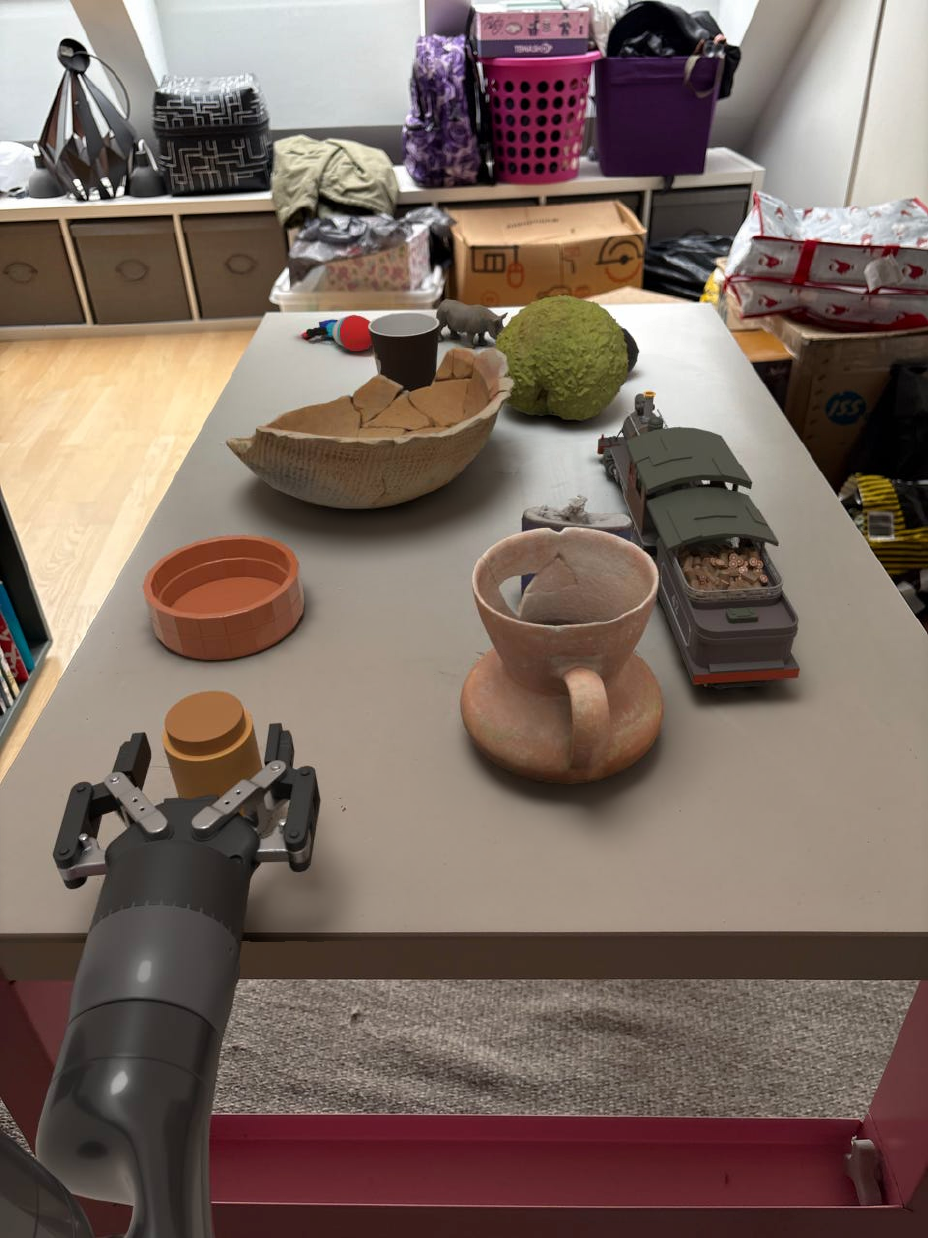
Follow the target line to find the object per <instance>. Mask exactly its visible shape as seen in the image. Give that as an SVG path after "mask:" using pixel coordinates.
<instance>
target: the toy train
mask: <svg viewBox="0 0 928 1238" xmlns="http://www.w3.org/2000/svg"><path fill="white" fill-rule="evenodd" d="M656 394H657V393H656V392H655V391H651V390H646V391H644V392H643V393H637V394H636V395H635V396H634V411H633V412H631V413H630V411H629V410H626V413H627V414H628V415H627V417H625V419H624V420H623V423H622V427H621V429H620V430H619V432H618V434H617V435H612V436H608V437H605V433H601V437H600V438H598V439H597V454H598V455H599V456H600V455H603V456H602V464H603V467H604V470H605V472H606V474H607V475H608V476H609V477H612V478H613V477H614V478H615V482H616V483H620V486H621V489H622V491H623V495H622V497H623V499H624V501H625V503H626V507H627V509H628V511H629V514H630V516H631V520H632V523H633V527H632V533H633V534H634V536H635V540H636V541H637V543H638V547H640V548H641V549H642V550H643V551H644V552H646V553H647V554H648V555H649V556H650V557H651V558H652V560H653V562H654V563H655V565H656V567H657V570H658V574H659V586H658V591H657V595H658V597H659V600H660V602H661V605H662V608H663V610H664V613H665V615H666V618H667V620H668V624H669V626H670V628H671V631H672V633H673V637H674V639H675V641H676V644H677V646H678V649H679V651H680V654H681V656H682V659H683V661H684V665H685V666H686V669H687V672H688V675H689V678H690V680H691V682H692V685H703V686H704V687H707V689H711V688H714V689H717V690H724V688H725V689H726V688H742V687H755V688H761V687H762V686H766V685H767V684H768V681H769V680H786V679H787V680H788V679H798V678H799V675H800V672H801V671H800V670H801V668H800V666H799V664H798V662H797V660H796V658H795V657H794V655H793V653H792V649H793V644H794V639H795V638H796V636H797V634H798V631H799V627H798V625H799V616H798V614H797V612H796V611H795V609H794V607H793V606H792V604H791V602H790V600H789V598H788V596H787V595H786V593H785V591H784V590H783V585H784V578H783V575H782V574H781V572H780V571H779V569H778V567H777V566H776V564H775V562H774V560H773V559H772V557H771V555H770V553H769V552H768V550H767V549H766V543H767V544H770V545H772V546H774V547H779V540H778V538H777V536H776V535H775V534H774V531H773V530H772V529H771V527H770V525H769V523H768V521H767V520H766V519H765V517H764V515H763V514H762V511H760V509H759V508H757V507H756V505H755V504H754V501H753V500H752V499H751V497H750V495H749V494H746V493H743V492H740V491H739V487H743V488H746V489H749V490H752V487H753V480H752V479H751V477H750V476H749V474H748V472H747V471H746V469H745V468H744V466H743V465H741V464H740V462H739V461H738V459H737V457H736V456H735V455H734V453H733V451H732V450H731V448H730V447H729V445H728V443H727V441H726V440H725V439H724V437H723V435H721V434H718V433H715V432H713V431H709V430H705V429H700V428H696V427H685V426H683V427H681V426H673V427H669V426H668V424H667V423H666V420H665V418H664V417H663V414H661V412H660V409H659V408H657V409H656V405H655V404H654V398H655V396H656ZM655 409H656V411H657V413H658V415H659V416H657V414H656V413H655V412H653V411H655ZM621 434H622V436H621ZM703 481H707V482H709V483H704V482H703ZM726 483H727V484H732V486H731V489H729V488H728V486H727V484H726ZM735 538H736V539H737V538H738V544H737V546H733V545H734V544H733V543H732V542H733V541H734V539H735Z"/></svg>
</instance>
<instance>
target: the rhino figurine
mask: <svg viewBox="0 0 928 1238" xmlns="http://www.w3.org/2000/svg"><path fill="white" fill-rule="evenodd" d="M508 314H509V312H505V313H503V314H501V315H498V314H496V313H495V312H494V311H492V310H491V309H489V308H488V307H486V306H485V305H482V304H474V305H470V304H466V303H463V302H461V301H458V300H455V299H447V298H445V299H444V300H442V301H441V302H440V304H439V305H438V307H437V310H436V314H435V318H437V319H438V320H439V336H438V342H443V340H445V337H444V335H443V333H442V331H443V329H444V328H446V327H447V329H448V330H449V338H452V339H456V340H457V339H461V338H462V336H461V334H464V333H466V341H465V344H464V345H465V348H470V349H473V350H474V349H475V348H476V345H475V343H474V339H475V337H476V335H477V338H478V339H477V344H478V345H480V346H487V345H489V342H488V340H486V339H485V335H486V333H488V335H489V337H490V338H491V339H493V340H494V341H496V340H497V335H499V333H501V332H502V330H503V329H504V327H505V326H504V324H503V323H504V322H503V320H504V319H506V318H507V316H508ZM460 333H461V334H460Z"/></svg>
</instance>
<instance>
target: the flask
mask: <svg viewBox="0 0 928 1238" xmlns="http://www.w3.org/2000/svg"><path fill="white" fill-rule="evenodd" d="M576 497H577V498H576ZM576 497H572V498H569V502H568V506H565V507H564V508H563V509H558V508H556V507H548V504H547V503H545V504H542V505H541V506H533V507H529V508H527V509H525V510H523V513H522V517H521V532H524V531H529V530H534V529H540V528H550V529H551V530H553V531H555V532H561V531H562V530H563V529H564V528H566V527H578V528H588V529H595V530H598V531H603V532H607V533H610V534H613V535H616V536H618V537H621V538H623V539H625V540H627V541H629V542H632V533H633V524H634V522H633V519H632V518H631V517H630V516H628V515H627V514H626V513H618V512H614V513H613V512H612V513H606V512H605V513H599V512H585V506H586V502H587V501H588V497H587V496H584V495H582V494H577V495H576ZM534 576H535V574H527V575H520V592H521V593H520V594H521V598H522V597H523V594H524V591H525V589H526V587H527V586H528V585H529V584H530V582H531V581H532V579H533V577H534Z"/></svg>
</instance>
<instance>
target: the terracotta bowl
mask: <svg viewBox="0 0 928 1238" xmlns="http://www.w3.org/2000/svg"><path fill="white" fill-rule="evenodd" d="M303 587H304V586H303V580H302V575H301V567H300V562H299V561H298V558H297V556H296V554H295V553H294V551H293V550H292V549H291V548H289V547H288V546H286V545H285V544H283V542H280V541H278V540H274V539H271V538H268V537H265V536H259V535H250V534H238V535H237V534H235V535H234V534H233V535H221V536H215V537H214V536H213V537H210V538H206V539H202V540H197V541H193V542H192V543H189V544H186V545H184V546H181V547H179V548H176V549H174V550H173V551H171V552H170V553H168V554H166V555H164V556H163V557H162V558H160V559H159V560H157V562H156V563H155V564H154V565H153V566H152V567H151V568H150V569H149V570H148V571H147V573H146V575H145V578H144V581H143V584H142V591H143V595H144V599H145V603H146V607H147V610H148V614H149V617H150V621H151V624H152V629H153V631H154V632H153V633H154V635H155V637H156V638H157V639H158V640H159V641H160V642H161V643H162V644H163V645H164V646H166V648H168V649H169V650H171V651H172V652H174V653H176V654H178V655H181V656H183V657H186V658H190V659H195V660H203V661H205V660H206V661H219V660H220V661H222V660H223V661H224V660H232V659H237V658H241V657H246V656H248V655H249V656H250V655H253V654H255V653H258V652H262V651H263V650H265V649H268V648H270V647H271V646H273V645H275V644H278V642H280V641H281V640H283V639H284V638H285V637H286V636H288V635H289V634H290V633H291V632H292V631H293V630H294V629H295V627H296V626H297V625H298V622H299V621H300V618H301V616H302V615H303V613H304V608H305V607H304V606H305V593H304V588H303Z"/></svg>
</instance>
